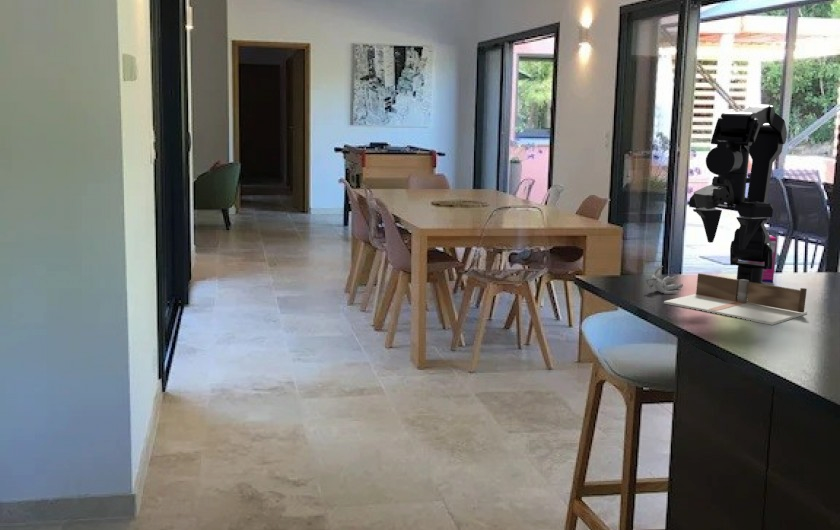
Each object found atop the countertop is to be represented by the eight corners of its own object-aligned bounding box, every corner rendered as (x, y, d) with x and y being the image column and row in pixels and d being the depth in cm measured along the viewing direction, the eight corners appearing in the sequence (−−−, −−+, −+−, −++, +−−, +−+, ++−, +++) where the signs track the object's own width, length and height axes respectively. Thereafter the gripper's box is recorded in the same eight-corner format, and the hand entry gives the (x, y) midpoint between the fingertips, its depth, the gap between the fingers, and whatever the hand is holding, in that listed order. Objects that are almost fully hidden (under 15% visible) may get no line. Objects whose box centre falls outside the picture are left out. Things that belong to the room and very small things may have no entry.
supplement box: (744, 277, 229) (748, 233, 227) (767, 278, 228) (772, 235, 226) (749, 281, 223) (754, 236, 221) (773, 282, 222) (778, 238, 220)
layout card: (701, 294, 202) (702, 292, 202) (806, 314, 186) (807, 311, 186) (663, 303, 191) (664, 300, 190) (772, 325, 174) (772, 322, 174)
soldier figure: (690, 295, 206) (673, 286, 197) (673, 307, 208) (655, 298, 198) (673, 269, 210) (655, 259, 200) (656, 281, 212) (638, 271, 202)
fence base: (699, 293, 201) (701, 272, 200) (748, 302, 193) (750, 280, 192) (694, 294, 199) (696, 272, 199) (744, 303, 191) (746, 281, 190)
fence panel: (746, 302, 191) (748, 280, 190) (748, 301, 192) (751, 279, 191) (802, 312, 183) (805, 289, 182) (804, 312, 184) (807, 288, 183)
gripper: (672, 169, 189) (666, 240, 192) (736, 177, 172) (729, 255, 175) (712, 168, 194) (705, 238, 197) (778, 176, 177) (770, 252, 180)
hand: (725, 245), depth 187 cm, fingers open, 9 cm apart
